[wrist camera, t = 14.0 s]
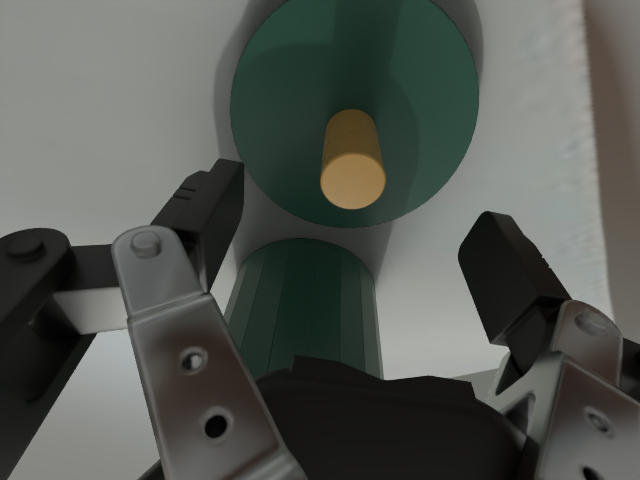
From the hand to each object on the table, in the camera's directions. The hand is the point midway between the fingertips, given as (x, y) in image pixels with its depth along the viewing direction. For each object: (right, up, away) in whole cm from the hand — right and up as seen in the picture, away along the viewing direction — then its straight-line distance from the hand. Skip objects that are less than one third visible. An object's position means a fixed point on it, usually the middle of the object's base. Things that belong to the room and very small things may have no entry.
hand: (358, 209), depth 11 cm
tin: (-2, -5, +14) cm, 15 cm away
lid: (0, +4, +5) cm, 6 cm away
